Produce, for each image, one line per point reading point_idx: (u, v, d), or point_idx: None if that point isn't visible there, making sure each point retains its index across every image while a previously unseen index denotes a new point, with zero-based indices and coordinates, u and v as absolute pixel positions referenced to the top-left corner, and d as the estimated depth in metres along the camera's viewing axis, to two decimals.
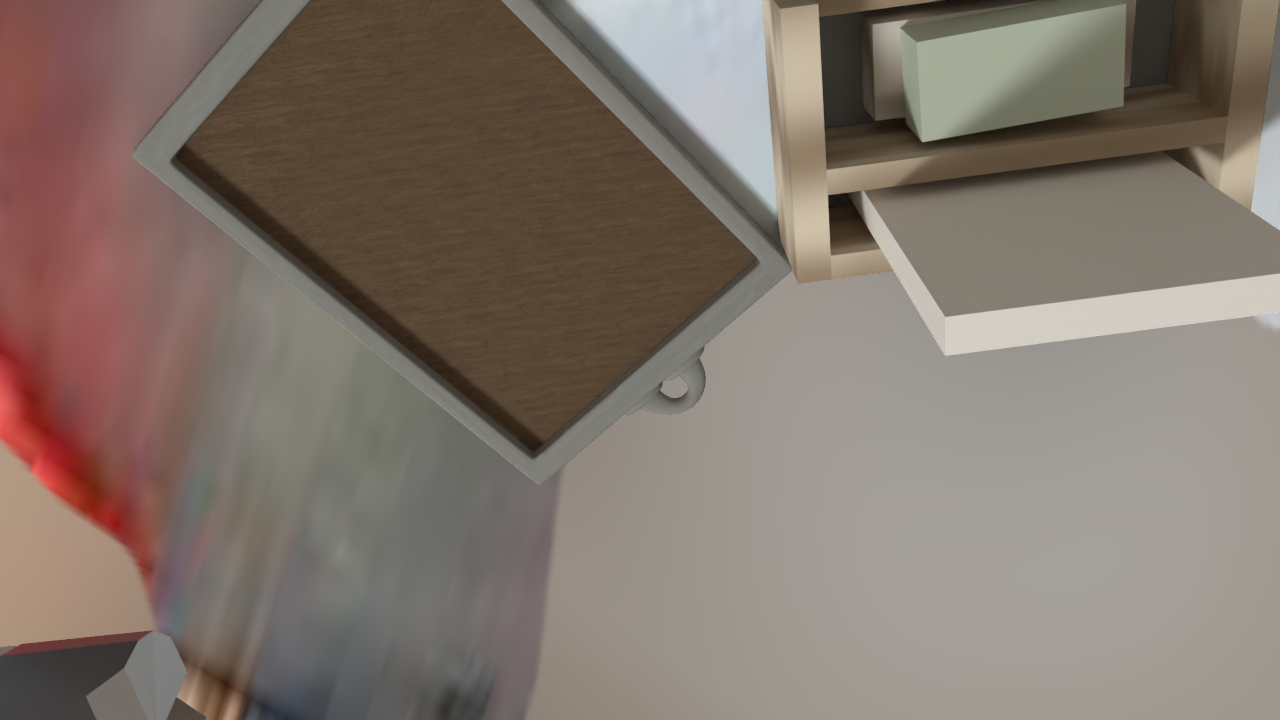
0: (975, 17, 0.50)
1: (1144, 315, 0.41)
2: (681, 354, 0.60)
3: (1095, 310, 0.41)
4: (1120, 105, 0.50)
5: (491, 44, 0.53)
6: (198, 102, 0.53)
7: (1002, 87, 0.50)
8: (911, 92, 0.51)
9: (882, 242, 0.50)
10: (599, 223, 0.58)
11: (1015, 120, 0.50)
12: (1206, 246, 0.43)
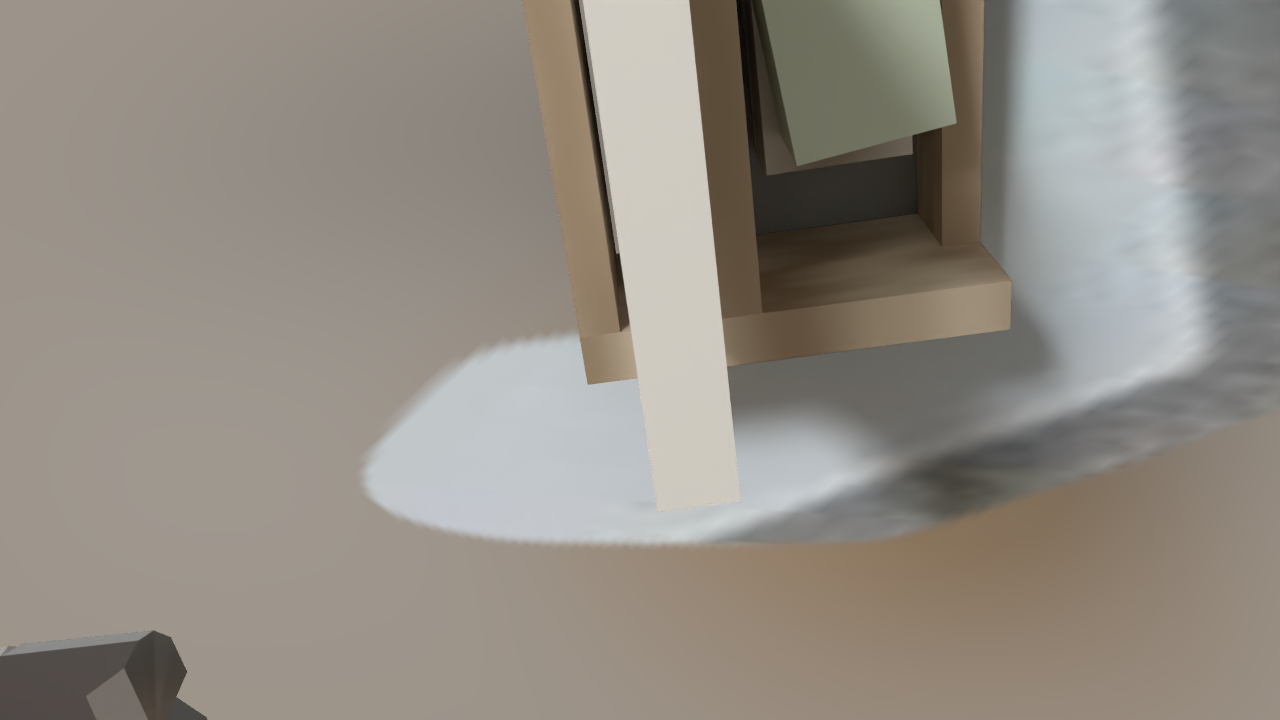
0: None
1: (646, 173, 0.18)
2: None
3: (661, 58, 0.17)
4: (798, 161, 0.31)
5: None
6: None
7: None
8: None
9: None
10: None
11: None
12: None
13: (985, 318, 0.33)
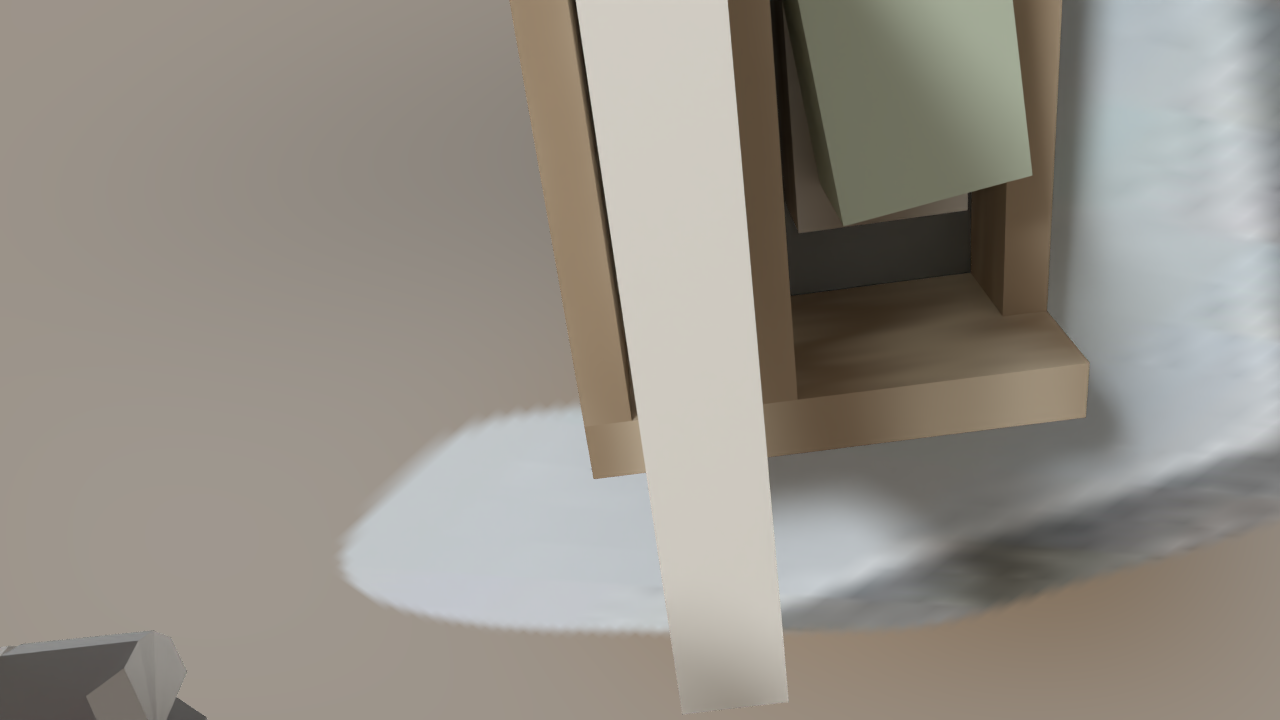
0: None
1: (672, 308, 0.14)
2: None
3: (695, 159, 0.13)
4: (845, 220, 0.27)
5: None
6: None
7: None
8: None
9: None
10: None
11: (813, 23, 0.24)
12: None
13: (1057, 405, 0.29)
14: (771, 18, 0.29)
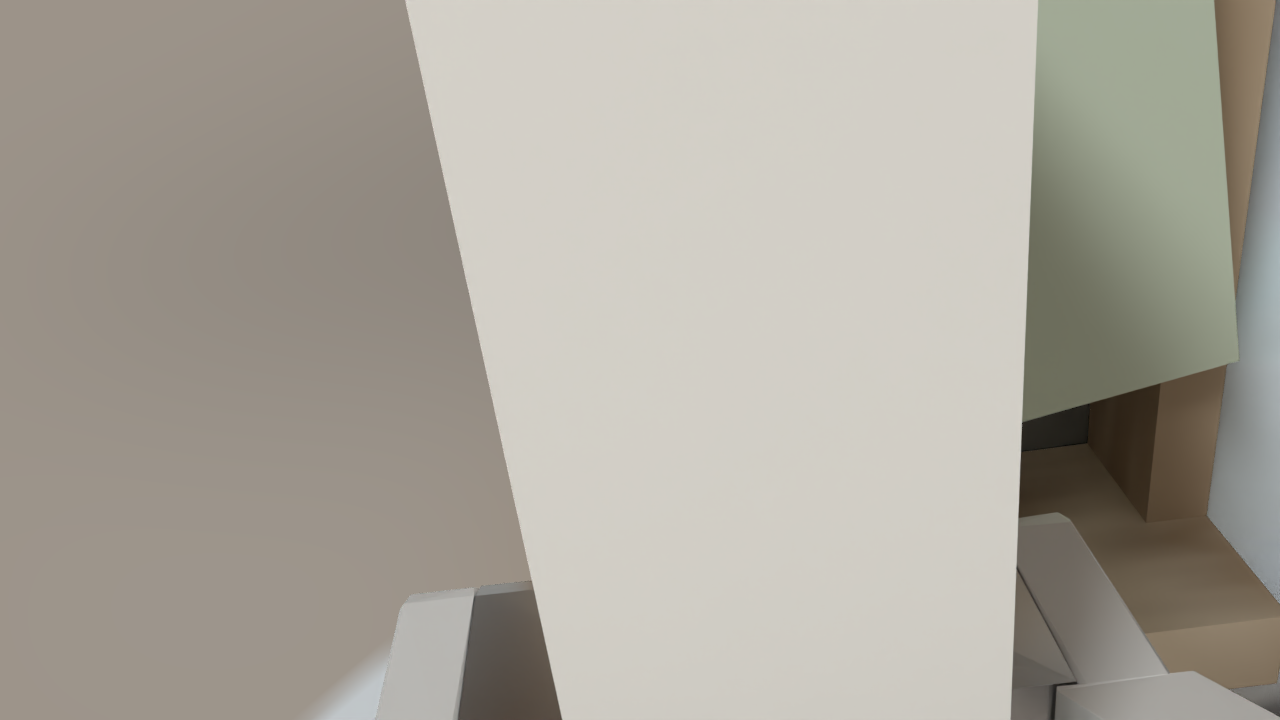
0: None
1: None
2: None
3: None
4: None
5: None
6: None
7: None
8: None
9: None
10: None
11: None
12: None
13: (1238, 668, 0.20)
14: None
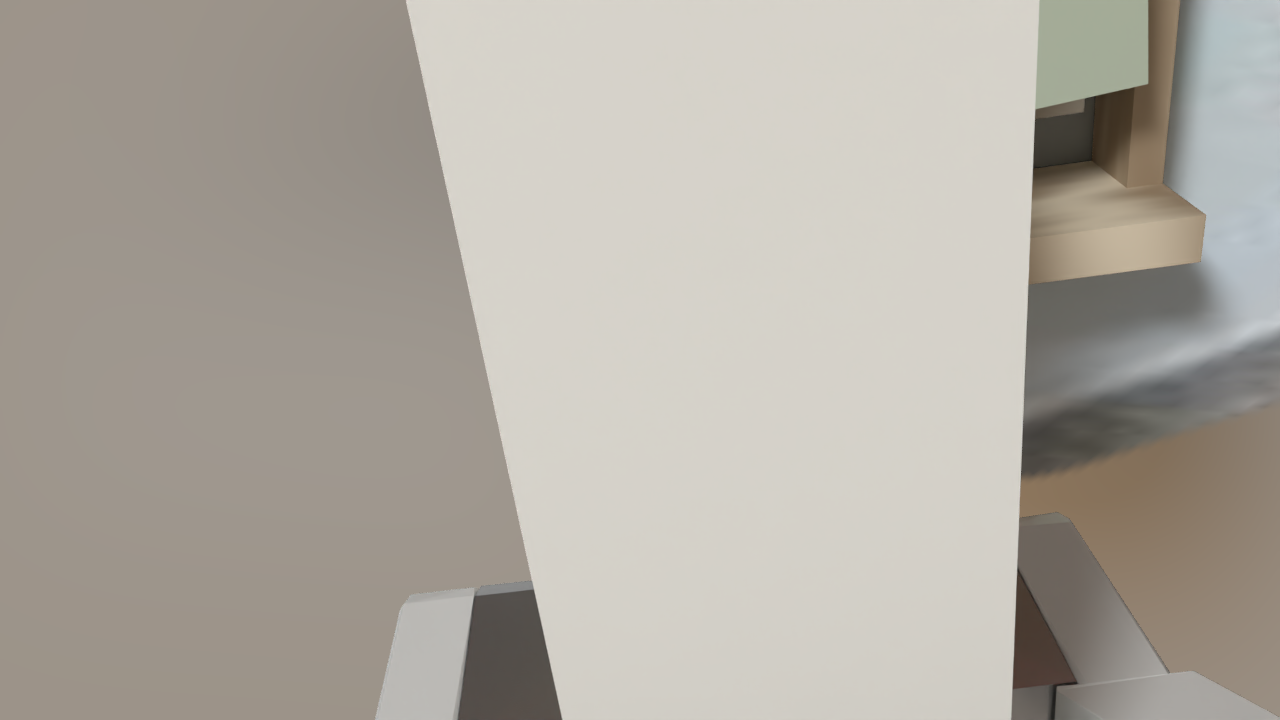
0: None
1: None
2: None
3: None
4: None
5: None
6: None
7: None
8: None
9: None
10: None
11: None
12: None
13: (1178, 251, 0.36)
14: None
